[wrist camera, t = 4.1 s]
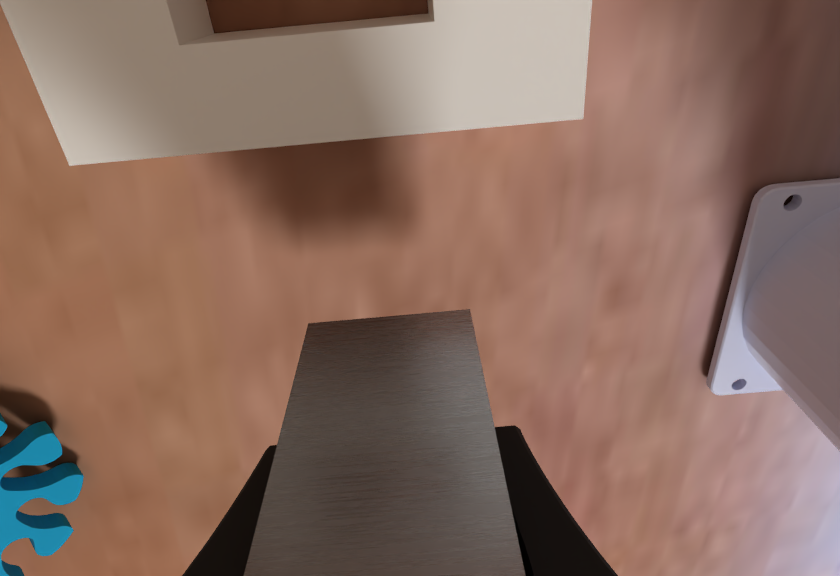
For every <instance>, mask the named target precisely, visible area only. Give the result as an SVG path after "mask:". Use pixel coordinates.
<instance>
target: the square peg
mask: <svg viewBox="0 0 840 576" xmlns="http://www.w3.org/2000/svg"><path fill="white" fill-rule="evenodd" d="M244 576H525V571H524V566H523V561H522V556H521V552H520V547H519V542H518V537H517V533H516V528H515V523H514V518H513V513H512V509H511V504H510V499H509V494H508V490H507V485H506V480H505V475H504V470H503V466H502V461H501V456H500V451H499V446H498V442H497V437H496V432H495V427H494V423H493V418H492V413H491V408H490V403H489V399H488V394H487V389H486V384H485V380H484V375H483V370H482V365H481V360H480V356H479V351H478V346H477V341H476V337H475V332H474V327H473V322H472V317H471V313H470V309H468V310H456V311H445V312H433V313H422V314H410V315H399V316H387V317H376V318H365V319H353V320H342V321H330V322H319V323H308V327H307V331H306V335H305V339H304V343H303V346H302V350H301V354H300V358H299V362H298V366H297V370H296V374H295V378H294V381H293V385H292V389H291V393H290V397H289V401H288V405H287V409H286V413H285V417H284V420H283V424H282V428H281V432H280V436H279V440H278V444H277V448H276V452H275V455H274V459H273V463H272V467H271V471H270V475H269V479H268V483H267V487H266V491H265V494H264V498H263V502H262V506H261V510H260V514H259V518H258V522H257V526H256V529H255V533H254V537H253V541H252V545H251V549H250V553H249V557H248V561H247V565H246V568H245V572H244Z"/></svg>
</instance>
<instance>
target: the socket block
mask: <svg viewBox="0 0 840 576" xmlns="http://www.w3.org/2000/svg"><path fill="white" fill-rule="evenodd" d="M0 4H1V6H2V9H3V11H4V13H5V16H6V18H7V20H8V23H9V25H10V27H11V30H12V32H13V34H14V37H15V39H16V41H17V44H18V46H19V48H20V51H21V53H22V55H23V58H24V60H25V62H26V65H27V67H28V69H29V72H30V74H31V76H32V79H33V81H34V83H35V86H36V88H37V91H38V93H39V95H40V98H41V100H42V102H43V105H44V107H45V109H46V112H47V114H48V116H49V119H50V121H51V123H52V126H53V128H54V130H55V133H56V135H57V137H58V140H59V142H60V144H61V147H62V149H63V151H64V154H65V156H66V158H67V161H68V163H69V165H70V166H71V165H82V164H93V163H104V162H115V161H126V160H137V159H148V158H159V157H170V156H181V155H192V154H203V153H214V152H225V151H236V150H247V149H258V148H269V147H280V146H291V145H302V144H313V143H324V142H335V141H346V140H357V139H368V138H379V137H390V136H401V135H412V134H422V133H433V132H444V131H455V130H466V129H477V128H488V127H499V126H510V125H521V124H532V123H543V122H554V121H565V120H576V119H583V115H584V102H585V89H586V75H587V62H588V48H589V35H590V22H591V8H592V0H428V14H417V15H406V16H396V17H385V18H374V19H363V20H353V21H342V22H331V23H321V24H310V25H299V26H288V27H278V28H267V29H256V30H246V31H235V32H224V33H214V31H213V27H212V23H211V19H210V15H209V11H208V7H207V3H206V0H0Z"/></svg>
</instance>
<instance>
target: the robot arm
mask: <svg viewBox="0 0 840 576" xmlns="http://www.w3.org/2000/svg"><path fill="white" fill-rule="evenodd" d="M791 195H793V198H792V200H791V202H789V203H788V204H787V205H784V202H785V200H786V199H787V198H788V197H789V196H791ZM738 379H739V380H738ZM736 380H737V381H736ZM734 381H736V382H734ZM707 386H708V387H709V389H710V390H711V391H712V393H714V394H716V395H729V394H741V393H753V392H764V391H776V390H784V391H785V392H786V394H787V395H788V396H789V397H790V398H791V399H792V400H793V401H794V402H795V403H796V404H797V406H798V407H799V408H800V409H801V410H802V411H803V412H804V413H805V414H806V415H807V416H808V417H809V419H810V420H811V421H812V422H813V423H814V424H815V425H816V426H817V427H818V428H819V429H820V431H821V432H822V433H823V434H824V435H825V436H826V437H827V438H828V439H829V440H830V441H831V442H832V444H833V445H834V446H835V447H836V448H837V449H838V450H839V451H840V178H835V179H824V180H813V181H802V182H791V183H779V184H771V185H768V186H765V187H763V188H762V189H760V190H759V191H758V192H757V193H756V194H755V196H754V198H753V200H752V203H751V207H750V211H749V215H748V219H747V223H746V227H745V231H744V235H743V238H742V242H741V246H740V250H739V254H738V258H737V262H736V266H735V270H734V274H733V278H732V282H731V286H730V290H729V294H728V298H727V302H726V306H725V310H724V314H723V318H722V321H721V325H720V329H719V333H718V337H717V341H716V345H715V349H714V353H713V357H712V361H711V365H710V369H709V373H708V377H707ZM495 432H496V437H497V442H498V446H499V451H500V456H501V461H502V466H503V470H504V475H505V480H506V485H507V490H508V494H509V499H510V504H511V509H512V513H513V518H514V523H515V528H516V533H517V537H518V542H519V547H520V552H521V556H522V561H523V566H524V571H525V576H618V575H617V574H616V573H615V572H614V570H613V569H612V568H611V567H610V565H609V564H608V563H607V562H606V560H605V559H604V558H603V557H602V555H601V554H600V553H599V552H598V550H597V549H596V548H595V546H594V545H593V544H592V542H591V541H590V540H589V539H588V537H587V536H586V535H585V533H584V532H583V531H582V529H581V528H580V526H579V525H578V524H577V522H576V521H575V520H574V518H573V517H572V515H571V514H570V512H569V511H568V509H567V508H566V507H565V505H564V504H563V502H562V501H561V499H560V498H559V496H558V495H557V493H556V492H555V490H554V489H553V487H552V486H551V484H550V483H549V481H548V479H547V478H546V476H545V475H544V473H543V471H542V470H541V468H540V466H539V465H538V463H537V461H536V459H535V458H534V456H533V454H532V452H531V450H530V449H529V447H528V445H527V443H526V441H525V439H524V437H523V435H522V433H521V430H520V429H519V428H518V427H516V426H505V427H495ZM276 448H277V445H273V446H269V447H268V449H267V450H266V451H265V453H264V454H263V456H262V458H261V459H260V461H259V463H258V464H257V466H256V468H255V469H254V471H253V473H252V474H251V476H250V477H249V479H248V481H247V482H246V484H245V486H244V487H243V489H242V490H241V492H240V493H239V495H238V497H237V498H236V500H235V501H234V503H233V504H232V506H231V507H230V509H229V510H228V512H227V513H226V515H225V516H224V518H223V519H222V521H221V522H220V524H219V525H218V527H217V528H216V530H215V531H214V533H213V534H212V536H211V537H210V538H209V540H208V541H207V543H206V544H205V546H204V547H203V548H202V550H201V551H200V552H199V554H198V555H197V556H196V558H195V559H194V560H193V562H192V563H191V565H190V566H189V567H188V569H187V570H186V571H185V573H184V574H183V575H182V576H244V572H245V568H246V565H247V561H248V557H249V553H250V549H251V545H252V541H253V537H254V533H255V529H256V526H257V522H258V518H259V514H260V510H261V506H262V502H263V498H264V494H265V491H266V487H267V483H268V479H269V475H270V471H271V467H272V463H273V459H274V455H275V452H276Z"/></svg>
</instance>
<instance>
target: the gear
mask: <svg viewBox="0 0 840 576" xmlns="http://www.w3.org/2000/svg"><path fill="white" fill-rule="evenodd" d="M6 429H7V424H6V422H5V420H4V419H3V417H2V415H1V413H0V437H1V436H2V435H3V434H4V432H5V431H6ZM61 455H62V447H61V444H60V442H59V441H58V439H57V437H56V436H55V434H54V433H53V431H52V430H51V428H50V427H49V425H48V424H47V423H46V422H45V421H43V422H38V423H35V424H32V425H30V426H29V427H27V428H26V429H25V430H24V431H23V432H22V433H21V434H20V435H19V436H17V437H16V438H15V439H14V440H12V441H11V442H10V443H8V444H6V445H5V446H3V447H2V448H0V576H24V574H23V572H22V569H21V568H20V567H19V566H16V565H10V564H8V563H5V562H3V561H2V560H1V554H2V551H3V550H4V549H5V548H6V547H7V546H8V545H9V544H10V543H12V542H13V541H15V540H18V539H21V538H29V539H30V541H31V543H32V545H33V547H34V549H35V551H36V553H37V554H38V555H41V556H48V555H52V554H53V553H54V552H56V551H57V550H58V549H59V548H60V547H61V546H62V545H63V544H64V543H65V541H66V540H67V539H68V538H69V536H70V535H71V534H72V532H73V531H74V530H73V529H72V527H71V525H70V523H69V522H68V520H67V518H66V517H65V515H63V514H61V513H53V514H48V515H40V516H35V515H27V514H24V513H21V512H19V511H17V510H18V509H19V508H20V506H21V505H23V504H24V503H25V502H27V501H29V500H31V499H34V498H40V497H41V498H45V499H47V500H49V501H50V502H52V503H53V504H56V505H64V504H68V503H71V502H73V501H75V500H76V498H77V497H78V495H79V493H80V491H81V488H82V484H83V474H82V473H81V471H80V470H79V468H78V467H77V465H75V464H74V463H63V464H60V465H58V466H56V467H54V468H52V469H50V470H48V471H45V472H43V473H40V474H36V475H33V476H27V477H17V478H8V477H3V475H4V474H5V473H6V472H8V471H9V470H11V469H12V468H15V467H17V466H21V465H44V464H48V463H50V462H52V461H54V460H56V459H57V458H59V457H60V456H61Z"/></svg>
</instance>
